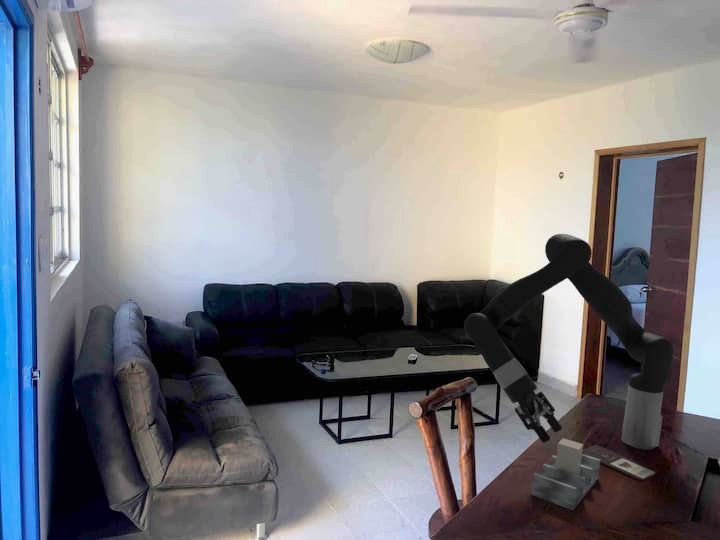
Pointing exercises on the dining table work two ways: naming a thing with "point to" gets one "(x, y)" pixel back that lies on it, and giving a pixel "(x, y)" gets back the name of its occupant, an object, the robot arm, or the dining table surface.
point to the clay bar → (569, 456)
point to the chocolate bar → (619, 463)
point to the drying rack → (565, 482)
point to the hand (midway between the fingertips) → (553, 435)
